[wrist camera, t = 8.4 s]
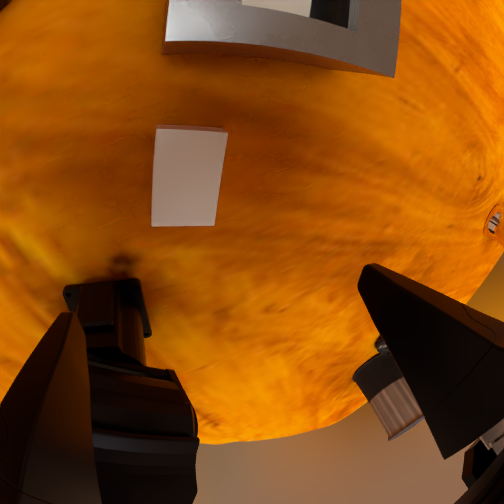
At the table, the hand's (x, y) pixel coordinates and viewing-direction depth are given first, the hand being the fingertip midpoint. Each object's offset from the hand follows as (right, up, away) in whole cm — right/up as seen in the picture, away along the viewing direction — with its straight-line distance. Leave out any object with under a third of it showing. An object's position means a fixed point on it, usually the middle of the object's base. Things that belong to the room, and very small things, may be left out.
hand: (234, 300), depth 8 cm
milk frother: (+23, -16, +37) cm, 46 cm away
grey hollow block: (+1, +18, +3) cm, 18 cm away
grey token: (-4, +7, +10) cm, 12 cm away
